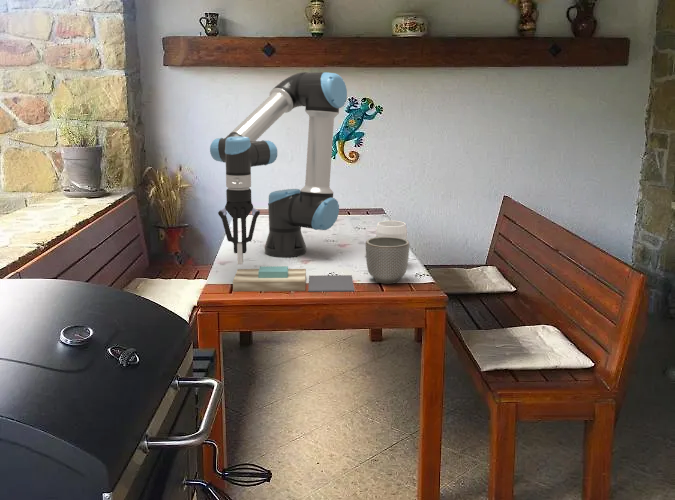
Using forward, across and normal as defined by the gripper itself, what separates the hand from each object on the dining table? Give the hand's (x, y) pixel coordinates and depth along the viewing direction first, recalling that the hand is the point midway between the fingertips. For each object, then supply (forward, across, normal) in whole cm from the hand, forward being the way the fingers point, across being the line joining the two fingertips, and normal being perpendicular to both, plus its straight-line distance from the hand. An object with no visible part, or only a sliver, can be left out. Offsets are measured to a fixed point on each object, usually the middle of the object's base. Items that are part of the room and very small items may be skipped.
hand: (240, 263), depth 223 cm
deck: (+7, +9, 0) cm, 12 cm away
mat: (+7, +28, 0) cm, 29 cm away
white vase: (+7, +49, +20) cm, 54 cm away
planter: (+7, +46, +3) cm, 47 cm away
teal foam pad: (+4, +10, 0) cm, 11 cm away
